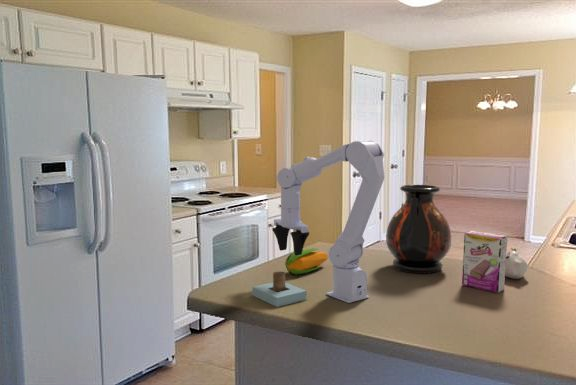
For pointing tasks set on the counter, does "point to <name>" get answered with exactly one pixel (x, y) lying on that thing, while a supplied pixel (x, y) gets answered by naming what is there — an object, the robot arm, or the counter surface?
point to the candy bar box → (484, 261)
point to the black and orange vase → (418, 232)
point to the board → (279, 294)
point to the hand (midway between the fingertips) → (290, 252)
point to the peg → (278, 281)
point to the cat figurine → (515, 265)
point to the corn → (305, 261)
